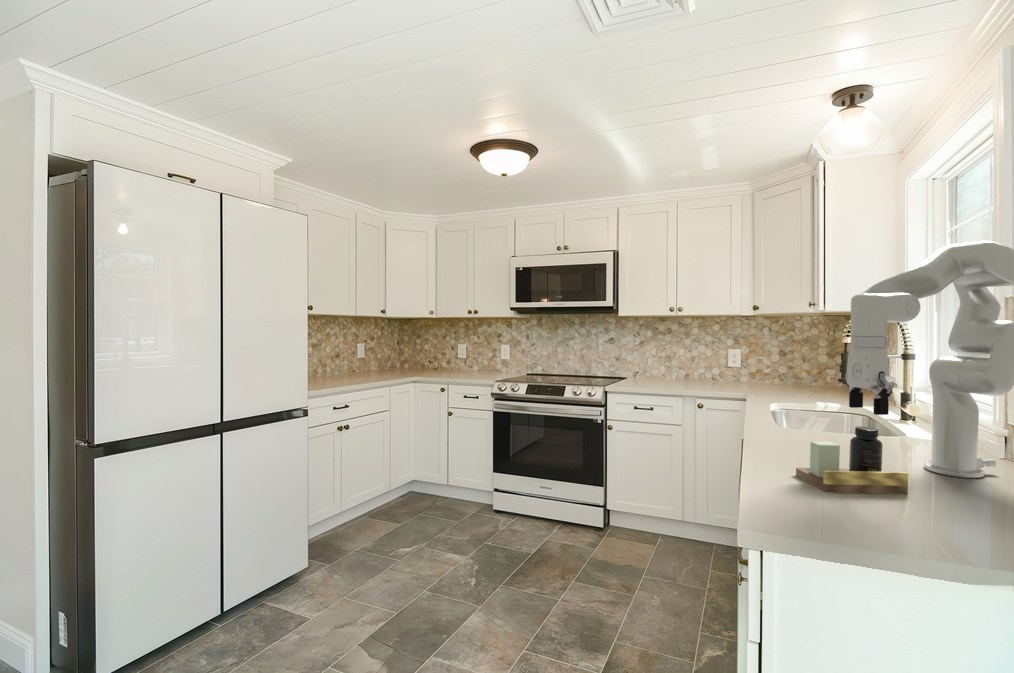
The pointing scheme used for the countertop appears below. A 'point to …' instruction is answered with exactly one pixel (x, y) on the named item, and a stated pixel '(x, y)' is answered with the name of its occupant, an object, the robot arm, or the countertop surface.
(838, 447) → the product box
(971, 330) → the robot arm
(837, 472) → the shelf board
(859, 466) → the supplement bottle
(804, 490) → the countertop surface
